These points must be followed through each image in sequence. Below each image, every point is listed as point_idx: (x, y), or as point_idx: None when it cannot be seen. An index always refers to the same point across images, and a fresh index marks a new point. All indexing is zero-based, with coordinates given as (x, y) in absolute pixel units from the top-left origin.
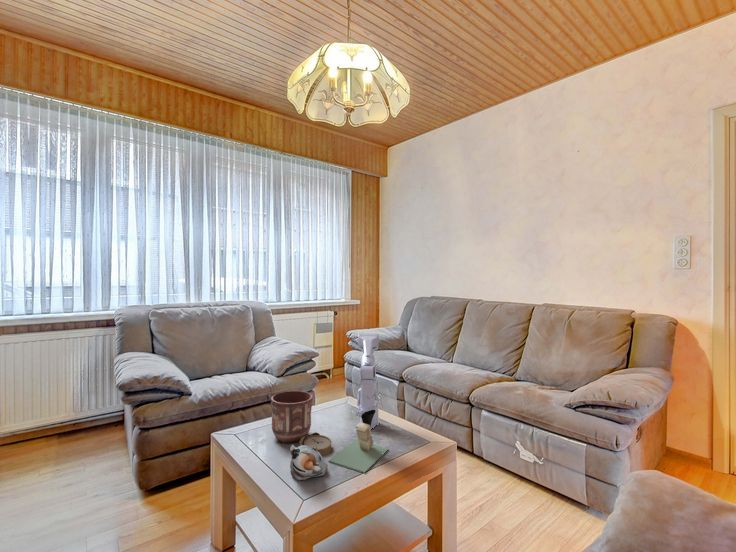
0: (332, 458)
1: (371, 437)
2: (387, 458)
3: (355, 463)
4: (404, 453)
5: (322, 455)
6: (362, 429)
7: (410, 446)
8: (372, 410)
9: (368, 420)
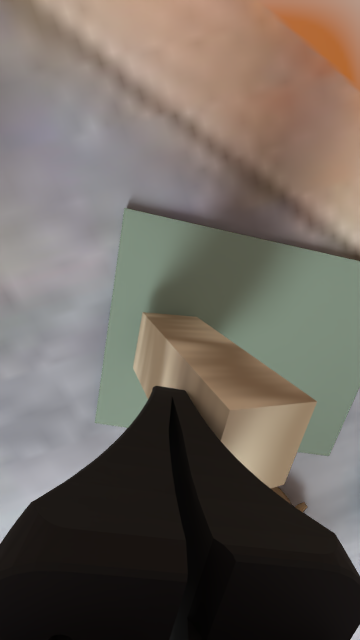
0: (310, 448)
1: (169, 334)
2: (226, 191)
3: (336, 342)
4: (127, 84)
5: (280, 489)
6: (290, 437)
7: (5, 54)
8: (71, 634)
9: (233, 465)
